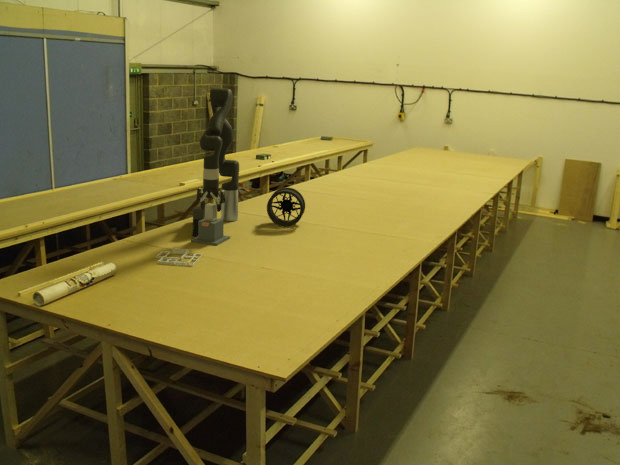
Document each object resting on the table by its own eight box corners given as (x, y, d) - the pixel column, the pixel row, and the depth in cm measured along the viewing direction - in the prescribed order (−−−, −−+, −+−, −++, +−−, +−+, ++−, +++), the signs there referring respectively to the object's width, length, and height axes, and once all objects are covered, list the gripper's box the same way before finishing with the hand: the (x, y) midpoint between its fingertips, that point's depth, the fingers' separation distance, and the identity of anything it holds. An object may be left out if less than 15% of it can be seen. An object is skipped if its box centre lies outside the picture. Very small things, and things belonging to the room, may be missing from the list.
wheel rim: (304, 223, 340) (306, 188, 334) (302, 228, 331) (304, 191, 325) (268, 221, 341) (269, 186, 336) (266, 225, 333) (267, 189, 327)
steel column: (209, 234, 304) (209, 203, 300) (216, 235, 303) (217, 204, 299) (204, 236, 300) (204, 204, 296) (212, 237, 299) (212, 205, 295)
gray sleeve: (205, 234, 311) (205, 215, 308) (230, 238, 306) (230, 218, 304) (191, 241, 298) (191, 221, 295) (216, 245, 294) (216, 225, 291)
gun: (191, 235, 304) (191, 205, 305) (193, 236, 333) (193, 209, 334) (205, 235, 305) (205, 205, 306) (205, 236, 334) (205, 209, 335)
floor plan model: (151, 250, 284) (151, 246, 283) (204, 254, 281) (204, 250, 281) (136, 263, 266) (136, 259, 265) (192, 267, 263) (192, 263, 263)
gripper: (227, 177, 295) (227, 210, 299) (201, 174, 299) (201, 207, 304) (220, 180, 288) (220, 213, 292) (193, 177, 293) (194, 210, 297)
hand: (210, 210), depth 298 cm, fingers open, 8 cm apart
